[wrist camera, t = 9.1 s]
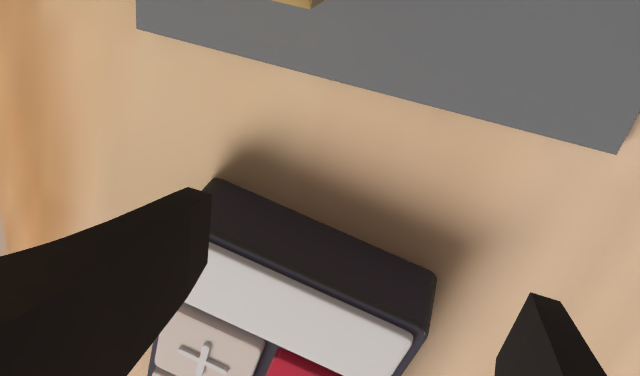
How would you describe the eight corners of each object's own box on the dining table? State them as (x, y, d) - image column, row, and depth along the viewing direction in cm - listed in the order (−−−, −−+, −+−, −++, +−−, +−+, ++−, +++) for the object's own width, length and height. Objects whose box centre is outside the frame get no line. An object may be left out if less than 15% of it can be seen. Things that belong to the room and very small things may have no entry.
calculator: (132, 422, 29) (162, 227, 20) (172, 361, 32) (213, 172, 23) (315, 510, 28) (430, 348, 19) (335, 438, 31) (441, 272, 23)
